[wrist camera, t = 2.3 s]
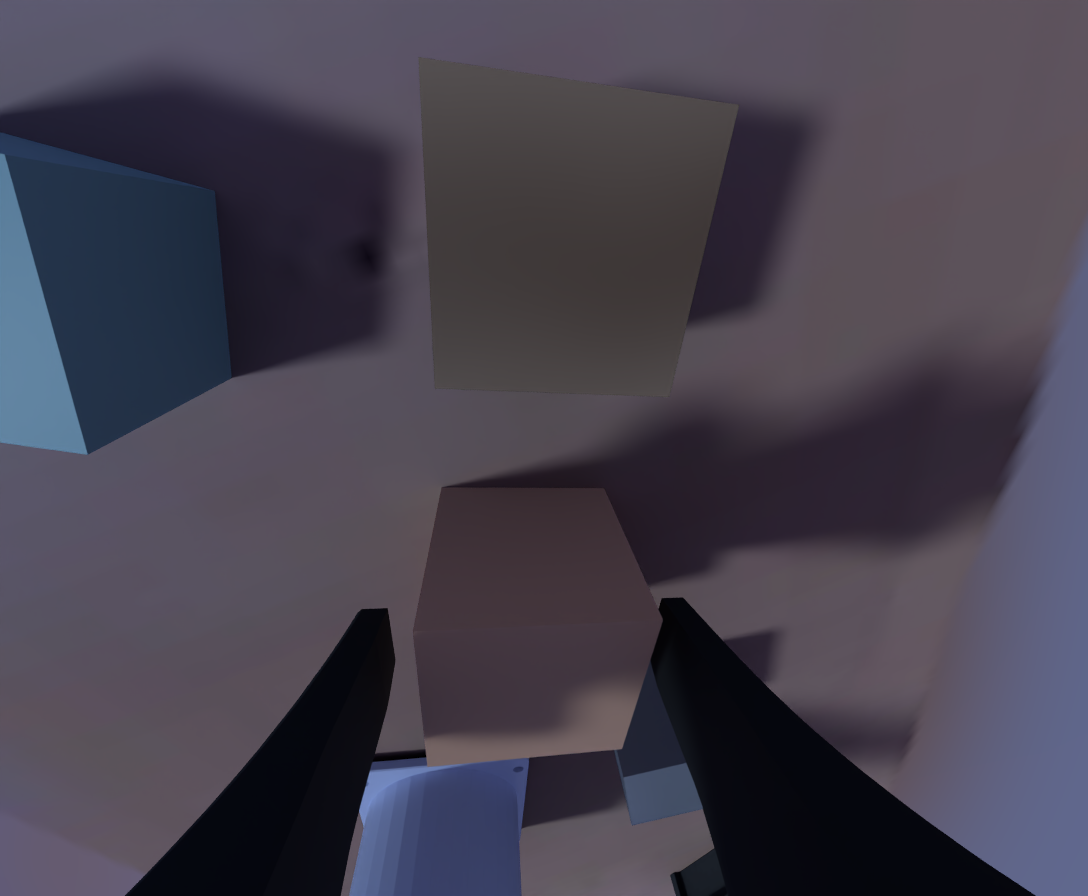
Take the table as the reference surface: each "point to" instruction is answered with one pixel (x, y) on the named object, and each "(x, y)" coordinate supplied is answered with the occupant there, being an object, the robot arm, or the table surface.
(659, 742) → the charcoal block
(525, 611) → the terracotta block
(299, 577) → the table surface
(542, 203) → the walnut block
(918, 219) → the table surface
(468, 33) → the table surface
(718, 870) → the geiger counter
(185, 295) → the dull teal block
